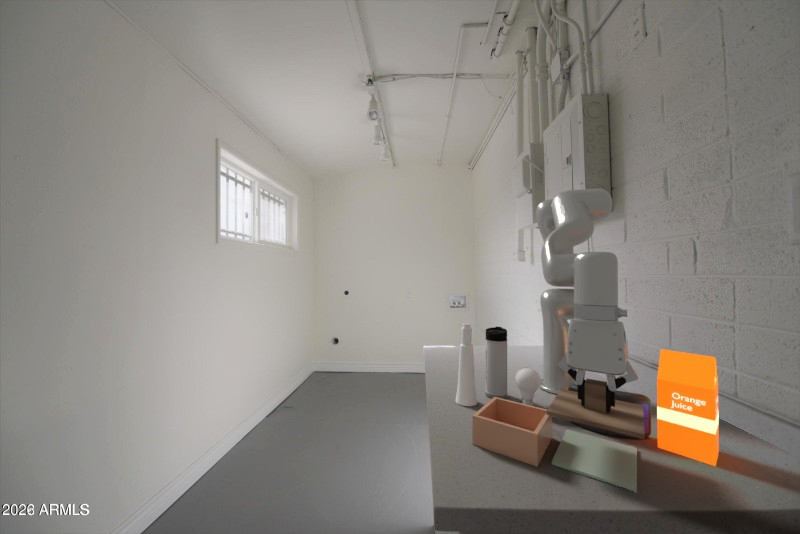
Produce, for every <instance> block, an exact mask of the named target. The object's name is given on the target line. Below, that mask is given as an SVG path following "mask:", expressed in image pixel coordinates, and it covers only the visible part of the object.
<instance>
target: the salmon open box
mask: <svg viewBox="0 0 800 534" xmlns="http://www.w3.org/2000/svg"><path fill="white" fill-rule="evenodd" d="M522 403H523V402H522ZM522 403H521V402H517V401H513V400H510V399H507V398H505V399H502V398H498V397H494V398H490V400H489V401H487V403H486V404H484V405H483V406H482V407H481V408H480V409H479V410H477V411H476V412H475V413H474V414H472V428H471V429H472V437H471V438H472V442H471V443H472V445H474V446H477V447H479V448H482V449H485V450H489V451H491V452H494V453H497V454H499V455H502V456H505V457H508V458H512V459H514V460H517V461H520V462H522V463H526V464H528V465H531V466H534V467H538V466H539V464H540V462H541V461H542V459H543V456H544V455H545V453H546V451H547V448H548V447H549V445H550V443H551V442H552V440H553V416H550V415H547V409H546V408H542V407H538V406H534V405H533V406H530V405H526V404H522ZM549 442H550V443H549ZM545 450H546V451H545Z"/></svg>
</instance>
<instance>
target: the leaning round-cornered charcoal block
mask: <svg viewBox="0 0 800 534" xmlns="http://www.w3.org/2000/svg"><path fill="white" fill-rule="evenodd" d="M568 390H569V391H574V392H578V385H577V384H574V385H570V386H569V388H568ZM615 400H619V401H624V402H629V403H634V404H639V405H643V412H644V432H645V439H646V438H648V437H650V436H651V434H652V400H651V399H650V398H649V397H648V396H646V395H644V394H641V393H635V392H628V391H622V390H616V391H615ZM571 423H573V424H574V425H576V426H578V427H580V426H581V428H583V429H585V430H588V429H589V431H592V432H595V433H599V434H602V435H603V434H604V435H607V436H613V437H617V438H618V437H619V438H625V439H627V438H628V439H638V440H639V439H640V440H642V439H641V438H637V437H633V436H629V435H625V434H621V433H617V432H613V431H609V430H605V429H601V428H597V427H593V426H589V425H585V424H581V423H577V422H573V421H571Z"/></svg>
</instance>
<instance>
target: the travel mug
mask: <svg viewBox="0 0 800 534" xmlns="http://www.w3.org/2000/svg"><path fill="white" fill-rule="evenodd" d="M484 340H485V345H484V347H485V348H484V350H485V351H484V352H485V353H484V355H485V356H484V357H485V361H484V363H485V364H484V365H485V367H484V369H485V370H484V371H485V372H484V373H485V374H484V375H485V377H484V378H485V380H484V383H485V385H484V386H485V387H484V388H485V390H484V391H485V393H484V394H485V396H486V397H487V398H489V399H492V398H494V397H498V398H502V399H507V397H508V329H506V328H504V327H502V326H495V327H488V328H486V329H485V339H484Z"/></svg>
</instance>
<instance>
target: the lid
mask: <svg viewBox="0 0 800 534" xmlns="http://www.w3.org/2000/svg"><path fill="white" fill-rule="evenodd" d="M585 380H586V381H585V406H581V400H580V399H578V392H574V391H569V390H564V389H561V390H560V392H559V393H558V394H556V396H555V397H554V399H553V400H552V402H551V403H550V405H549V406H548V408H547V409H546V410H547V415H550V416H552V417H554V418H558V419H562V420H566V421H569V422H572V421H573V422H577V423H581V424H585V425H589V426H593V427H597V428H601V429H605V430H609V431H613V432H617V433H621V434H625V435H629V436H633V437H637V438H641V439H640V440H642V439H643V440H645V439H646V438H645V432H644V412H643V405H639V404H634V403H629V402H624V401H619V400H615V407H613V406H611V410H610V412H608V411H607V410H606V389H607V385H608V381H603V380H597V379H591V378H586V379H585ZM573 422H572V423H573Z"/></svg>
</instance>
